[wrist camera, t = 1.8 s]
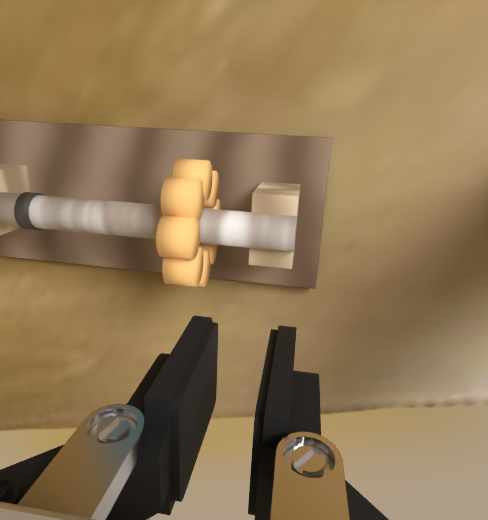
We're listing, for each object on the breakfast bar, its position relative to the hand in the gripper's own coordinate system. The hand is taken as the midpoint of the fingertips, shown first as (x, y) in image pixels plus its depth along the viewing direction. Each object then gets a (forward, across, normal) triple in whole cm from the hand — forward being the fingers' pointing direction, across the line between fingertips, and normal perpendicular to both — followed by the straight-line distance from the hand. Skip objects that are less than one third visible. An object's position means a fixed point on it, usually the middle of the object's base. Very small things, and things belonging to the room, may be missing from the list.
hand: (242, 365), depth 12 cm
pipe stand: (+22, +12, 0) cm, 25 cm away
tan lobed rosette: (+20, +6, 0) cm, 21 cm away
